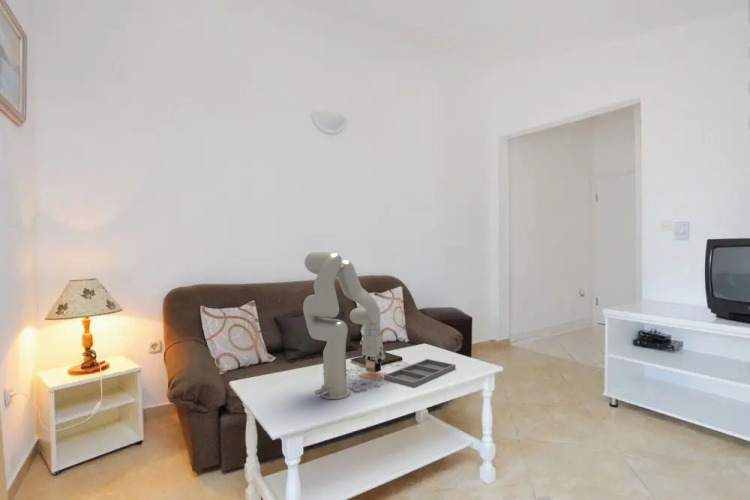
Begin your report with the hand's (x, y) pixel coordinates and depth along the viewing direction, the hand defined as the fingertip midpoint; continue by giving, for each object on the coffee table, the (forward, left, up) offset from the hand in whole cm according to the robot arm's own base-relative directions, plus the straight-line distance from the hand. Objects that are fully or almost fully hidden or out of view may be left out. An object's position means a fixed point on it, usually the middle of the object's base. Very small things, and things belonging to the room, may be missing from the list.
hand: (373, 369), depth 197 cm
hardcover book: (+19, +15, -4) cm, 25 cm away
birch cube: (0, 0, -1) cm, 1 cm away
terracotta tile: (0, 0, -3) cm, 3 cm away
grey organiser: (+15, -17, -3) cm, 23 cm away
